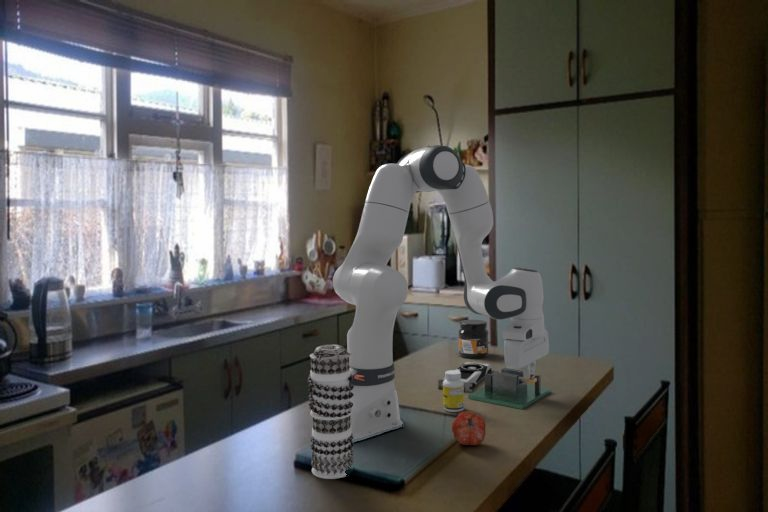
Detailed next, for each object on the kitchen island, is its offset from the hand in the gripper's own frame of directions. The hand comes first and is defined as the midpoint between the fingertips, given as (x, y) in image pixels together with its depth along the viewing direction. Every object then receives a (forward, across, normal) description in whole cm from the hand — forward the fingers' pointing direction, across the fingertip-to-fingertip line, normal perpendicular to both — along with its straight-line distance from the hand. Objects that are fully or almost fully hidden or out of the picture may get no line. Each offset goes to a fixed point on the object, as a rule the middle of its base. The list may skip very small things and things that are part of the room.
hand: (528, 377), depth 168 cm
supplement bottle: (+5, +20, -12) cm, 24 cm away
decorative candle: (+4, +66, -12) cm, 67 cm away
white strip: (+1, +1, -5) cm, 5 cm away
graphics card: (+6, -6, -23) cm, 24 cm away
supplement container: (+6, -34, -37) cm, 51 cm away
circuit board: (+6, +1, -5) cm, 8 cm away
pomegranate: (+5, +38, +3) cm, 38 cm away
